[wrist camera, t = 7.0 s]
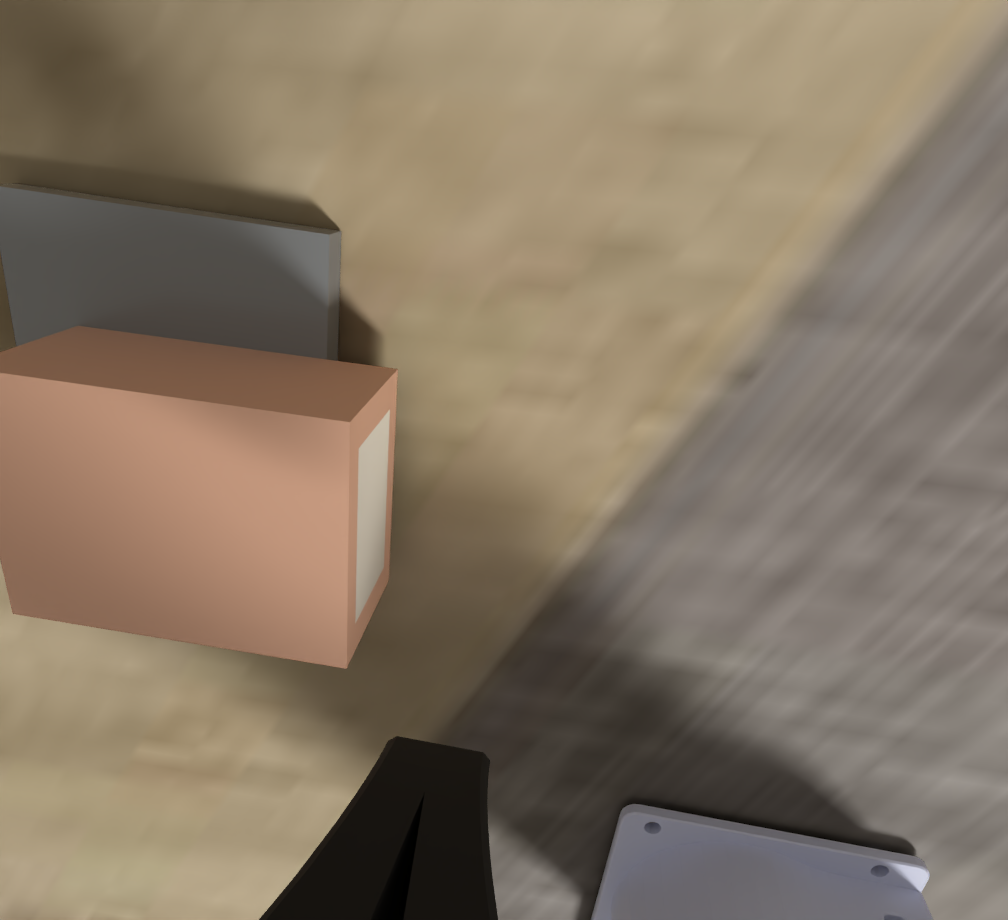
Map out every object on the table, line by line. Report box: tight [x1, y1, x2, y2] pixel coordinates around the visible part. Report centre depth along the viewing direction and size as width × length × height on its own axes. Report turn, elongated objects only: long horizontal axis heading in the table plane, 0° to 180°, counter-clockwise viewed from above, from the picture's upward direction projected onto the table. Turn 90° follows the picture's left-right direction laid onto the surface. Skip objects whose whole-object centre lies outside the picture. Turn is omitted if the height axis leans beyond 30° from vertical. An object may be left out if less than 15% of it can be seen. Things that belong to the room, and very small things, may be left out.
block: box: [0, 326, 398, 669], centre depth 17 cm, size 4×6×8 cm
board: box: [0, 183, 341, 361], centre depth 19 cm, size 8×12×1 cm, turn 173°
